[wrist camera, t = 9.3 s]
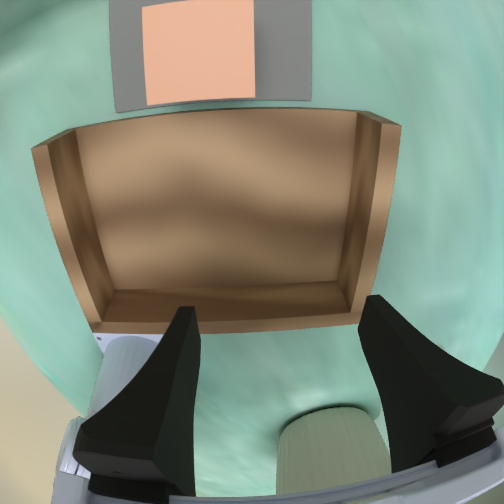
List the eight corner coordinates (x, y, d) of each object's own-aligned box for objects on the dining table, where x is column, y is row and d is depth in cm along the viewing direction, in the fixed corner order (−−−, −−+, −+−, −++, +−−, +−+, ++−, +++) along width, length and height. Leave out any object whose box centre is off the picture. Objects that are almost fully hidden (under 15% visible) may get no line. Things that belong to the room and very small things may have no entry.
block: (248, 88, 17) (255, 97, 12) (172, 93, 17) (147, 105, 12) (247, 18, 15) (253, -4, 10) (169, 24, 14) (141, 7, 9)
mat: (310, 100, 18) (311, 100, 18) (117, 112, 17) (115, 113, 17) (308, -44, 12) (309, -46, 12) (111, -29, 12) (109, -30, 12)
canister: (405, 405, 40) (443, 525, 22) (317, 453, 47) (334, 558, 29) (334, 375, 33) (375, 553, 15) (234, 434, 40) (240, 570, 22)
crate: (346, 284, 26) (362, 322, 22) (108, 294, 25) (92, 332, 21) (369, 111, 18) (401, 125, 14) (65, 129, 18) (31, 148, 14)
